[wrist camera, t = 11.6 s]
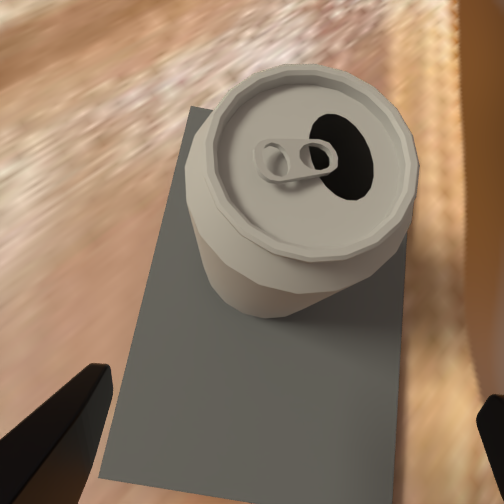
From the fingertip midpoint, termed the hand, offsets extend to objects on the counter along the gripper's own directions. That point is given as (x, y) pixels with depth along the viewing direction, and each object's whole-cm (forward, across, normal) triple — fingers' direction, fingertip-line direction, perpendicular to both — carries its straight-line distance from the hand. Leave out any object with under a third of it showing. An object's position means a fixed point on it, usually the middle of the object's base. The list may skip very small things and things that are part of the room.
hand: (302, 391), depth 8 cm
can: (+13, 0, +4) cm, 14 cm away
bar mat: (+12, -1, +6) cm, 13 cm away
